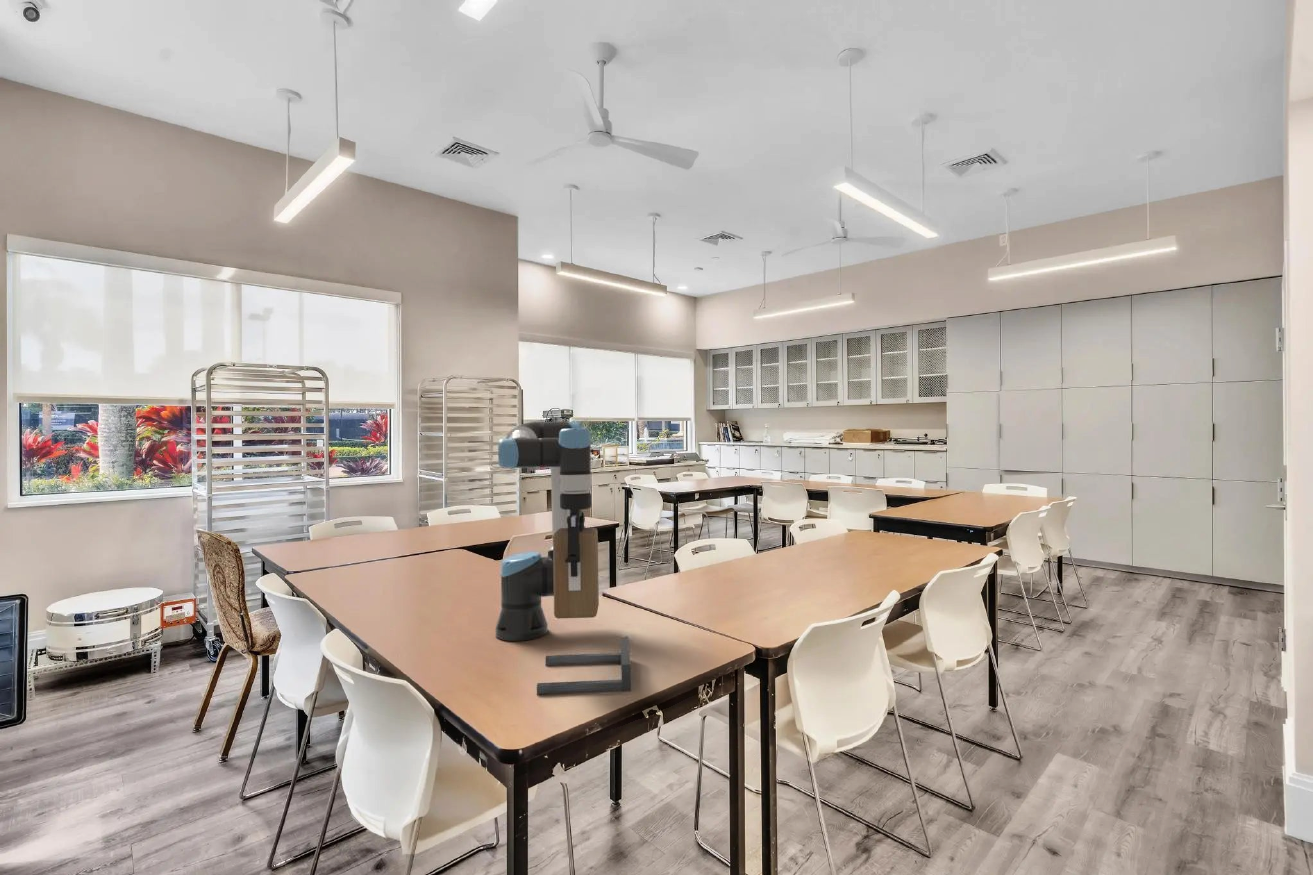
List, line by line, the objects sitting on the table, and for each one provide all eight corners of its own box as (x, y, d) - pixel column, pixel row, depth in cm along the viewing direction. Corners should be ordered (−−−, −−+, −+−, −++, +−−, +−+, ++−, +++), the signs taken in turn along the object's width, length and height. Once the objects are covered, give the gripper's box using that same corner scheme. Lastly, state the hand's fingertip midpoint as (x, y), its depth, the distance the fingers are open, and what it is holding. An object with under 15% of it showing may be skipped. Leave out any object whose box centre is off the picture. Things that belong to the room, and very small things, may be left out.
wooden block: (558, 608, 150) (557, 527, 150) (599, 607, 150) (597, 526, 151) (553, 619, 140) (552, 533, 140) (596, 618, 140) (595, 532, 141)
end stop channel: (536, 695, 135) (536, 668, 135) (546, 663, 155) (546, 639, 155) (630, 690, 136) (630, 664, 136) (628, 659, 156) (628, 636, 156)
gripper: (565, 489, 157) (566, 575, 156) (553, 496, 134) (555, 596, 134) (594, 489, 157) (595, 574, 157) (587, 495, 135) (589, 595, 134)
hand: (576, 585), depth 145 cm, fingers closed on wooden block, 10 cm apart
